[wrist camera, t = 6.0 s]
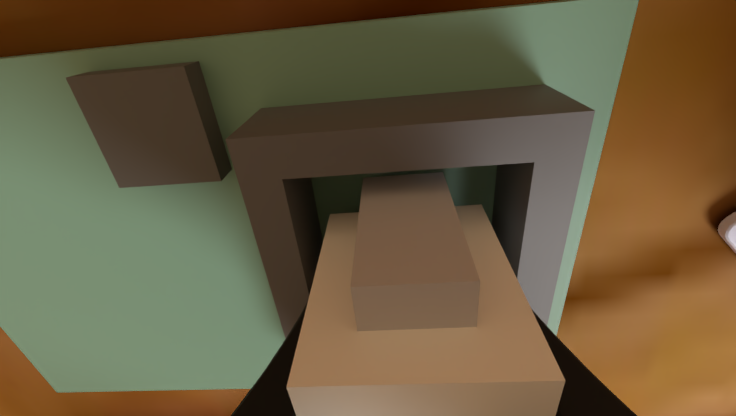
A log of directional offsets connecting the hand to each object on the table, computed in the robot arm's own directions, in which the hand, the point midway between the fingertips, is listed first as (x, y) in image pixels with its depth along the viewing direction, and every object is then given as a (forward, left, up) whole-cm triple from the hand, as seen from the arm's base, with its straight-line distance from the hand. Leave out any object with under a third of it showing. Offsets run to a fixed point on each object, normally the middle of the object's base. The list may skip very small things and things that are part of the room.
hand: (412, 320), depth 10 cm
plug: (0, 0, -1) cm, 1 cm away
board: (+4, -4, -4) cm, 7 cm away
